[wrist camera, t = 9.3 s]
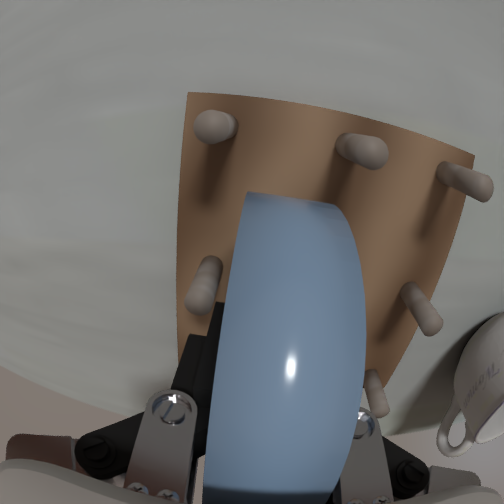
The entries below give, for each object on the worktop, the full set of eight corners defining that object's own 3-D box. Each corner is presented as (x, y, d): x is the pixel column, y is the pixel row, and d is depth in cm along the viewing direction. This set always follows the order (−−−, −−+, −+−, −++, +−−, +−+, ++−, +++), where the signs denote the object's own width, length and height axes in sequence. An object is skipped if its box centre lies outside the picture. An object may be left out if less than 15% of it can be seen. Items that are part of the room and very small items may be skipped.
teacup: (520, 265, 16) (580, 321, 9) (531, 332, 19) (569, 381, 11) (393, 374, 20) (422, 455, 13) (432, 413, 23) (454, 473, 16)
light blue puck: (309, 172, 13) (453, 378, 2) (271, 358, 17) (267, 546, 7) (255, 164, 13) (197, 370, 2) (231, 353, 17) (204, 541, 7)
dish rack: (460, 151, 13) (516, 168, 9) (379, 373, 20) (395, 423, 16) (195, 94, 13) (161, 83, 9) (183, 356, 20) (166, 409, 16)
